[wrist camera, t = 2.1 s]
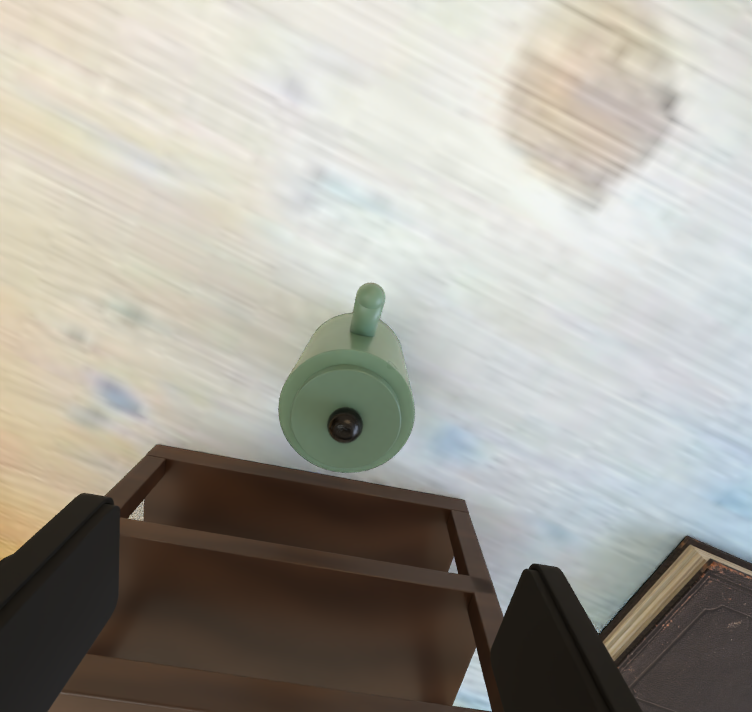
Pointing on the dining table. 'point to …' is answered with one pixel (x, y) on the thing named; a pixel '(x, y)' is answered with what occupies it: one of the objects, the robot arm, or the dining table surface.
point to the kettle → (349, 391)
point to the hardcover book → (688, 634)
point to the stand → (286, 595)
